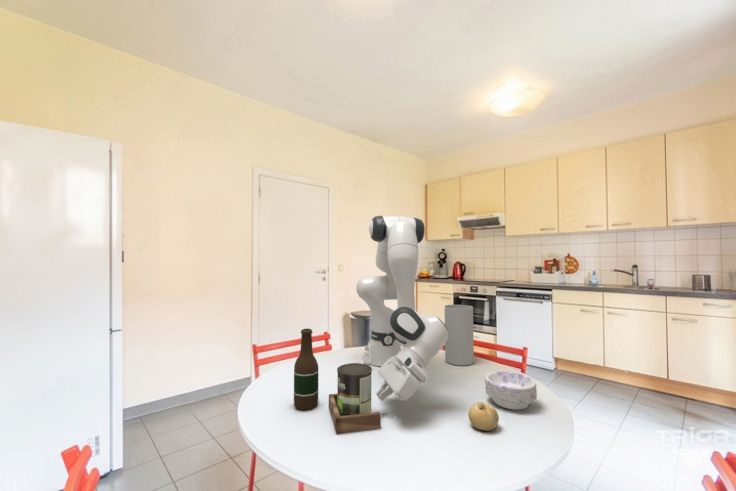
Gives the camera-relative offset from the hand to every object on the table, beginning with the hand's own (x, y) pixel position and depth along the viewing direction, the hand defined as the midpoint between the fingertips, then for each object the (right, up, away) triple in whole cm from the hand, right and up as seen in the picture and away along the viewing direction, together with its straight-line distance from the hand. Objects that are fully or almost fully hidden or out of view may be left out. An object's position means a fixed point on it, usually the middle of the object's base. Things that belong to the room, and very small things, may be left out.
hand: (379, 397), depth 98 cm
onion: (+29, -5, -8) cm, 30 cm away
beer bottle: (-23, -5, +5) cm, 24 cm away
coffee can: (-7, -5, -2) cm, 9 cm away
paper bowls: (+43, -5, +7) cm, 43 cm away
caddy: (-8, -5, -2) cm, 9 cm away
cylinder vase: (+38, -7, +50) cm, 63 cm away
